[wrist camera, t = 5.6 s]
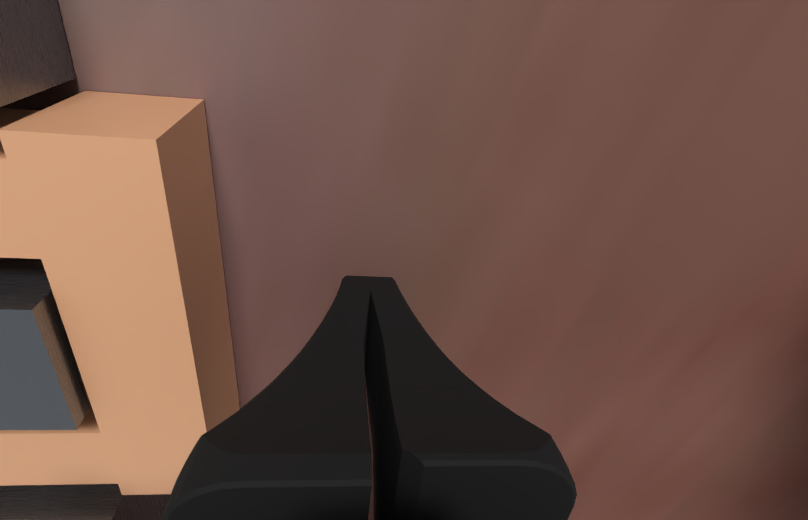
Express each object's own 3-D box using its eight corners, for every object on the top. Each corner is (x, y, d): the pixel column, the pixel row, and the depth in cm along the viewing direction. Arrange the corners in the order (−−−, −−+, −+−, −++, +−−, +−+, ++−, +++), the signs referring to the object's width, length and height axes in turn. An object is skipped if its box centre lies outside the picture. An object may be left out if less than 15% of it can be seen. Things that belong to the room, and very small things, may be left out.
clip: (203, 99, 11) (155, 140, 8) (239, 409, 16) (217, 493, 13) (-175, 71, 10) (-359, 107, 7) (-8, 408, 15) (-83, 499, 12)
